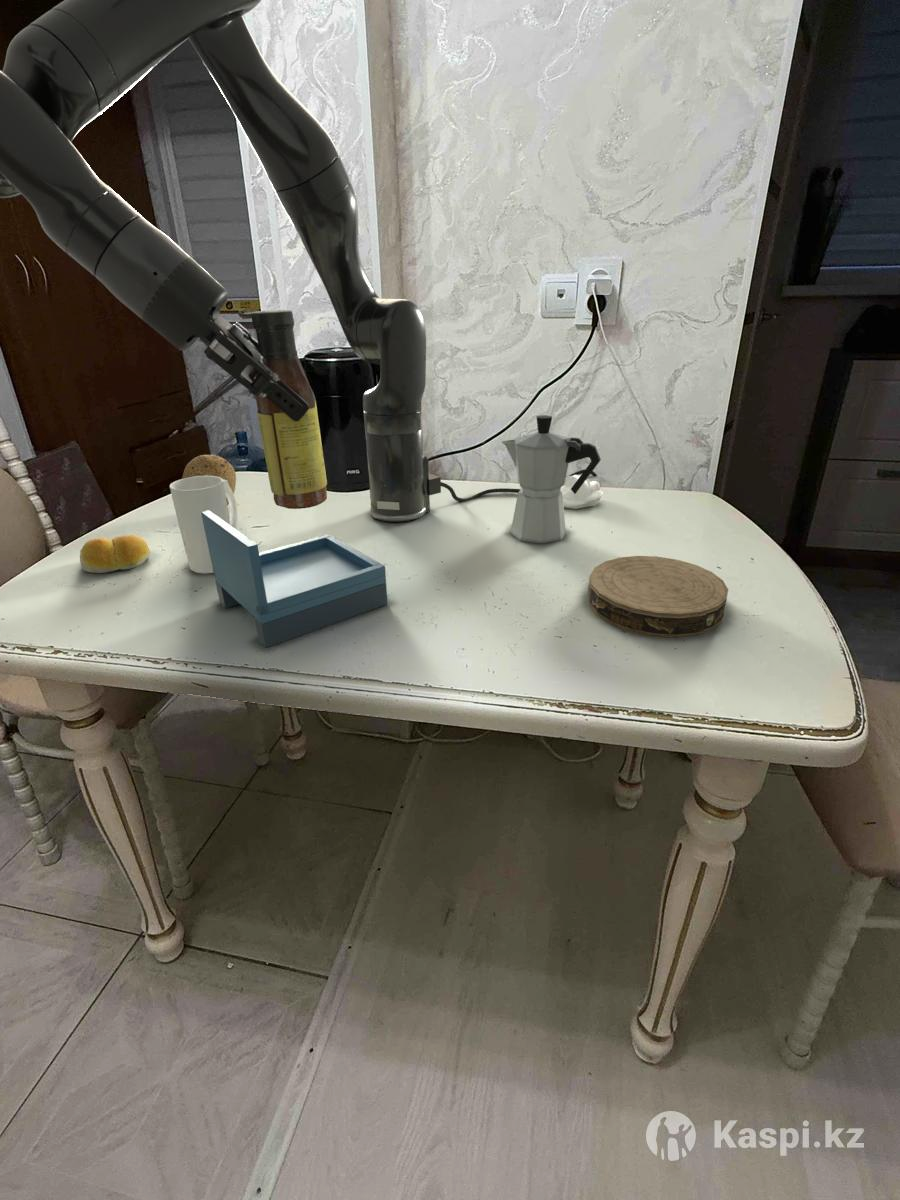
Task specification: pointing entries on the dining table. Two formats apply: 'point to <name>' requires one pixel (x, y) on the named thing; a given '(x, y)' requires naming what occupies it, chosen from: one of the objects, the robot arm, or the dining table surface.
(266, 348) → the sauce bottle
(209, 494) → the mug
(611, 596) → the wood log slice
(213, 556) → the shelf
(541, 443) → the coffee maker
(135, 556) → the bread roll
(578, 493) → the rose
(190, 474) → the natural sponge
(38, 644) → the dining table surface
